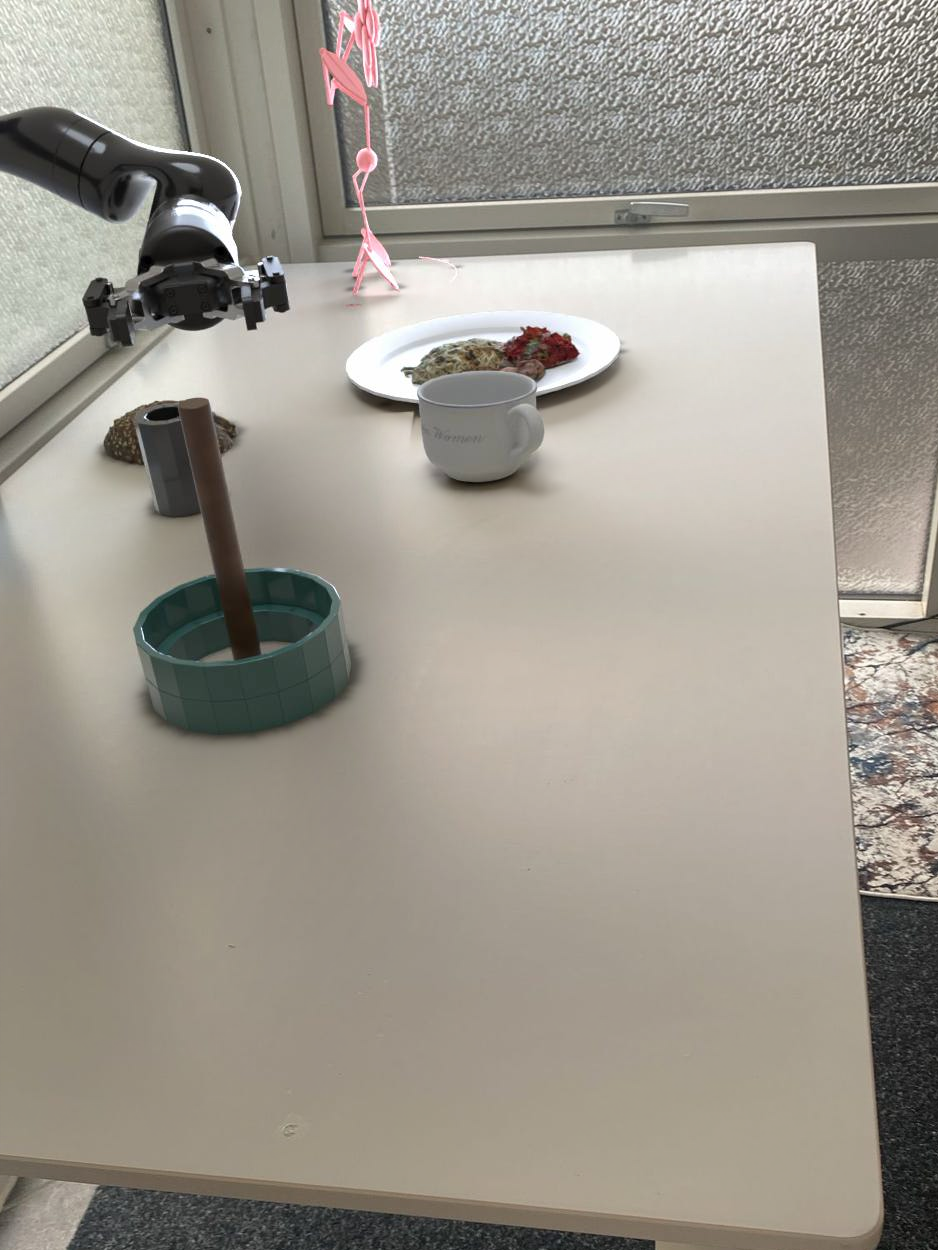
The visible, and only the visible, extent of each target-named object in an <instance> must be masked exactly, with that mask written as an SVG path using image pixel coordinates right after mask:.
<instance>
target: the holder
mask: <svg viewBox="0 0 938 1250" xmlns="http://www.w3.org/2000/svg"><path fill="white" fill-rule="evenodd" d="M178 404H179V403H167V404H160V405H156V406H152V407H148V408H147V409H145V410H143V411H141V412H139V413H137V414H136V416H135V418H134V424H135V428H136V432H137V436H138V440H139V444H140V449H141V453H142V457H143V461H144V464H143V465H144V469H145V473H146V478H147V481H148V485H149V490H150V494H151V497H152V498H151V499H152V502H153V507H154V509H155V511H156V512H157V514H159V515H160V516H163V517H166V518H185V517H191V516H196V515H199V514H201V510H200V505H199V501H198V496H197V492H196V487H195V483H194V478H193V474H192V469H191V465H190V460H189V456H188V451H187V447H186V442H185V438H184V433H183V428H182V424H181V419H180V415H179V410H178Z"/></svg>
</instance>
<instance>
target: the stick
mask: <svg viewBox="0 0 938 1250" xmlns="http://www.w3.org/2000/svg"><path fill="white" fill-rule="evenodd" d="M183 400H184V401H181V400H180V401H181V402H180V403H179V404H178V410H179V415H180V419H181V424H182V428H183V433H184V438H185V442H186V447H187V451H188V456H189V460H190V465H191V469H192V474H193V478H194V483H195V487H196V492H197V496H198V501H199V505H200V510H201V513H200V514H201V519H202V524H203V529H204V532H205V537H206V541H207V546H208V550H209V554H210V559H211V564H212V569H213V574H215V578H216V582H217V587H218V591H219V596H220V600H221V605H222V609H223V614H224V618H225V623H226V627H227V632H228V636H229V641H230V646H231V647H230V649H231V654H232V658H233V659H232V660H240V659H244V658H249V657H254V656H258V655H263V653H262V648H261V644H260V642H259V639H258V634H257V629H256V624H255V619H254V614H253V610H252V605H251V600H250V595H249V590H248V585H247V580H246V576H245V571H244V569H245V566H244V561H243V557H242V552H241V547H240V546H241V545H240V542H239V538H238V533H237V528H236V523H235V517H234V513H233V508H232V504H231V498H230V494H229V489H228V484H227V478H226V474H225V469H224V465H223V460H222V455H221V454H222V453H220V449H219V444H218V440H217V435H216V430H215V425H214V420H213V415H212V412H213V410H212V406H211V402H210V400H209V398H206V397H191V398H186V399H183Z"/></svg>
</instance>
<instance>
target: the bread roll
mask: <svg viewBox="0 0 938 1250" xmlns="http://www.w3.org/2000/svg"><path fill="white" fill-rule="evenodd" d="M184 400H185V399H181V400H173V399H170V400H169V399H168V400H167V399H164V400H154V401H153V402H151V403H148V404H141V405H139V406H137V407H135V408H134V409H132V410H130V411H127V412H125V414H124V415H122V416H120V417H118V418H115V419H114V420H113V425H112V426H109V427H108V428H109V429H108V432H107V433H106V435H105V436H104V440H103V448H104V451H105V454H106V455H109V456H110V457H112V458H113V459H114V460H119V461H121V462H125V463H129V464H130V465H141V466H142V465H144V461H143V457H142V453H141V449H140V444H139V440H138V436H137V432H136V428H135V424H134V418H135V416H136V414H137V413H139V412H141V411H143V410H145V409H147V408H148V407H152V406H156V405H160V404H167V403H180V402H181V401H184ZM212 415H213V420H214V425H215V430H216V435H217V440H218V444H219V449H220V454H223V453H226V452H228V451H229V450H231V448H232V447H233V445H234V441H233V438H235V437H236V436H237V434H238V430H237V429H236V428H237V426H236V424H235V422H231V421H229V420H228V419H226V418H225V417H223V416H220V415H217V413H216V412H215V411H212Z"/></svg>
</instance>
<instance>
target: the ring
mask: <svg viewBox="0 0 938 1250" xmlns="http://www.w3.org/2000/svg"><path fill="white" fill-rule="evenodd" d="M244 571H245V576H246V580H247V585H248V590H249V595H250V600H251V605H252V610H253V614H254V619H255V624H256V629H257V634H258V639H259V643H262V642H263V643H265V642H266V643H267V642H281V643H289V645H286V646H283V647H280V648H279V649H276V650H273V651H271V652H268V653H262V655H258V656H254V657H249V658H244V659H240V660H234V659H231V660H219V661H200V660H203V658H205V657H207V656H209V655H212V654H214V653H217V652H220V651H222V650H224V649H228V648H231V646H230V641H229V636H228V632H227V627H226V623H225V618H224V614H223V609H222V605H221V600H220V596H219V591H218V587H217V582H216V578H215V573H213V574H208V575H205V576H201V577H199V578H196V579H193V580H190V581H187V582H184V583H181V584H179V585H177V586H175V587H173V588H172V589H170V590H168V591H166V592H165V593H163V594H161V595H159V596H158V597H156V598H154V599H153V600H152V601H151V602H150V603H149V604H148V605H147V606H146V607H145V608H144V609H143V610H141V611H140V612H139V614H138V617H137V618H136V621H135V623H134V626H133V627H132V631H133V636H134V641H135V645H136V648H137V652H138V655H139V656H138V657H139V659H140V663H141V667H142V670H143V673H144V678H145V682H146V687H147V690H148V693H149V696H150V701H151V705H152V708H153V710H154V711H155V712H156V713H157V714H158V715H159V716H160V717H161V718H162V719H163V720H164V721H165V722H167V723H169V724H171V725H174V726H176V727H179V728H181V729H184V730H187V731H188V732H189V731H190V732H195V733H202V734H203V733H204V734H212V735H232V734H235V735H236V734H249V733H256V732H262V731H265V730H268V729H273V728H279V727H282V726H287V725H289V724H291V723H294V722H296V721H298V720H301V719H303V718H305V717H308V716H311V715H313V714H314V713H316V712H317V711H318V710H319V711H320V709H322V708H323V707H325V706H326V705H327V704H329V703H330V702H332V701H334V700H335V699H336V698H337V697H338V696H339V694H340V693H341V692H342V690H343V689H344V688H345V686H347V684H348V682H349V680H350V674H351V668H352V661H351V655H350V650H349V644H348V636H347V633H346V632H347V630H346V625H345V619H344V611H343V605H342V600H341V598H340V596H339V594H338V591H337V590H336V588H335V586H334V585H333V584H331V583H330V582H328V581H326V580H325V579H323V578H322V577H321V576H319V575H317V574H313V573H309V572H306V571H303V570H299V569H295V568H284V567H283V568H282V567H271V566H268V567H267V566H264V567H263V566H262V567H250V568H249V567H248V568H244ZM290 643H292V644H290Z"/></svg>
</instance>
